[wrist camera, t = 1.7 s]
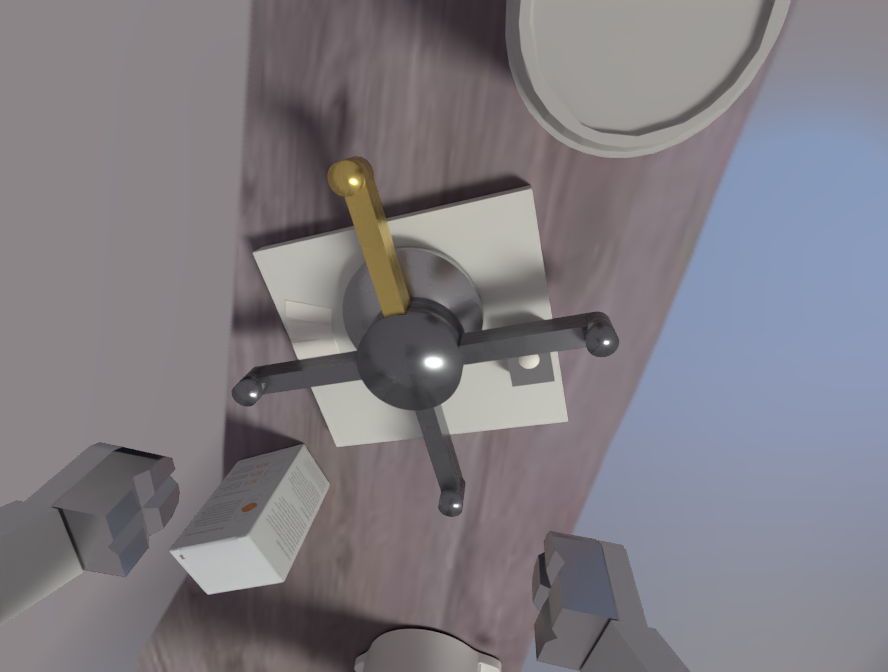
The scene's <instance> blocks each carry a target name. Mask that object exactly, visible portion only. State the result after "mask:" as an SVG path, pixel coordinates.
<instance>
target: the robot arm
mask: <svg viewBox="0 0 888 672" xmlns="http://www.w3.org/2000/svg"><path fill="white" fill-rule="evenodd" d="M174 470H175V467H174V463H173V459H172V458H169V457H165V456H161V455H157V454H152V453H147V452H143V451H139V450H134V449H130V448H125V447H121V446H115V445H111V444H106V443H102V442H99V443H96V444H94V445H91V446H89V447H88V448H87V449H86V450H85V451H83V452H82V453H81V454H80V455H79V456H78V457H76V458H75V459H74V460H73V461H72V462H71V463H69V464H68V465H67V466H66V467H65V468H64V469H62V470H61V471H60V472H59V473H58V474H57V475H55V476H54V477H53V478H52V479H51V480H49V481H48V482H47V483H46V484H45V485H44V486H43V487H41V488H40V489H39V490H38V491H37V492H35V493H34V494H33V495H32V496H31V497H29V498H28V499H27V500H26V501H25V502H22V501H15V502H12V503H10V504H7V505H5V506H3V507H0V626H1V625H3V624H4V623H6V622H7V621H9V620H11V619H12V618H14V617H15V616H17V615H18V614H20V613H21V612H23V611H25V610H26V609H28V608H29V607H31V606H32V605H34V604H35V603H37V602H38V601H40V600H42V599H43V598H45V597H46V596H48V595H49V594H51V593H52V592H54V591H56V590H57V589H59V588H60V587H62V586H63V585H65V584H66V583H68V582H70V581H71V580H73V579H74V578H76V577H77V576H79V575H80V574H82V573H83V570H87V571H93V572H99V573H104V574H110V575H116V576H122V577H126V576H127V575H128V573H129V572H130V571H131V569H132V568H133V567H134V566H135V564H136V563H137V562H138V560H139V559H140V558H141V557H142V555H143V554H144V553H145V552H146V550H147V549H148V548H149V536H151V535H152V534H154V533H156V532H158V531H160V530H161V529H163V528H164V527H165V526H166V524H167V523H168V522H169V520H170V519H171V518H172V516H173V514H174V512H175V509H176V507H177V505H178V502H179V494H180V492H179V486H178V483H177V482H176V481H175V480H174V479H173V478H172V477H171V476H170V474H172V472H173V471H174ZM544 551H545V552H543V553H542V554H540V555H538V558H537V560H536V563H535V567H534V573H533V579H532V596H533V604H534V605H535V607H536V608H537V610H538V611H539V615H538V618H537V620H536V622H535V625H534V629H535V643H536V657H537V661H539V662H544V663H548V664H552V665H556V666H560V667H565V668H569V669H573V670H578V671H580V672H690V671H689V669H688V668H687V667H686V666H685V664H684V663H683V662H682V661H681V659H680V658H679V657H678V656H677V655H676V653H675V652H674V651H673V650H672V649H671V647H670V646H669V645H668V644H667V642H666V641H665V640H664V639H663V637H662V636H661V635H660V634H659V632H658V631H657V630H656V629H654V628H650V627H648V626H647V622H646V619H645V615H644V612H643V608H642V605H641V601H640V598H639V594H638V590H637V587H636V583H635V580H634V576H633V573H632V569H631V566H630V562H629V559H628V555H627V551H626V549H625V548H624V546H623V545H620V544H615V543H610V542H605V541H599V540H596V539H592V538H585V537H581V536H575V535H570V534H564V533H559V532H553V531H550V532H549V533H548V534H547V535H546V538H545V540H544ZM354 669H355V671H356V672H501V662H500V661H499V660H497V659H495V658H493V657H490V656H488V655H485V654H482V653H479V652H477V651H475V650H473V649H472V648H470V647H469V646H467V645H466V644H464V643H462V642H461V641H459V640H457V639H455V638H453V637H450V636H448V635H445V634H442V633H438V632H434V631H429V630H422V629H400V630H394V631H390V632H387V633H385V634H383V635H381V636H379V637H378V638H377V639H375V640H374V642H373V643H372V644H371V646H370V648H369V650H368V651H367V652H366V653H364V654H362V655H360V656H358V657H357V658H356V661H355V666H354Z"/></svg>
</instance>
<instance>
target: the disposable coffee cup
mask: <svg viewBox="0 0 888 672" xmlns="http://www.w3.org/2000/svg"><path fill="white" fill-rule="evenodd" d="M790 1H791V0H507V2H506V29H505V39H506V46H507V54H508V61H509V67H510V70H511V73H512V77H513V80H514V82H515V85H516V88H517V90H518V92H519V94H520V96H521V98H522V100H523V101H524V103H525V105H526V107H527V109H528V110H529V112H530V113H531V114H532V115H533V117H534V118H535V119H536V120H537V122H538V123H539V124H540V125H541V126H542V127H543V128H544V129H545V130H547V131H548V132H549V133H550V134H551V135H552V136H554V137H555V138H556V139H557V140H559V141H561V142H562V143H564V144H566V145H567V146H569V147H571V148H574V149H576V150H579V151H581V152H584V153H587V154H592V155H596V156H601V157H605V158H630V157H636V156H641V155H647V154H652V153H656V152H658V151H661V150H663V149H666V148H668V147H671V146H673V145H676V144H678V143H681V142H683V141H685V140H686V139H688V138H689V137H691V136H693V135H694V134H696V133H697V132H699V131H701V130H702V129H704V128H706V127H707V126H708V125H709V124H711V123H712V122H713V121H714V120H715V119H716V118H718V117H719V116H720V115H721V114H722V113H723V112H725V111H726V110H727V109H728V108H729V107H730V106H731V105H732V103H733V102H734V101H735V100H736V99H737V98H738V97H739V96H740V94H741V93H742V92H743V91H744V90H745V89H746V88H747V87H748V86H749V84H750V82H751V81H752V79H753V78H754V76H755V75H756V73H757V72H758V70H759V68H760V67H761V65H762V64H763V62H764V61H765V59H766V57H767V55H768V53H769V51H770V50H771V48H772V46H773V45H774V43H775V41H776V39H777V37H778V34H779V32H780V30H781V27H782V25H783V23H784V20H785V18H786V15H787V11H788V8H789V4H790Z"/></svg>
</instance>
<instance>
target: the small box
mask: <svg viewBox="0 0 888 672" xmlns="http://www.w3.org/2000/svg"><path fill="white" fill-rule="evenodd" d="M329 486H330V483H329V482H328V480H327V479H326V477H325V476H324V474H323V473H322V471H321V470H320V468H319V467H318V465H317V464H316V462H315V460H314V459H313V457H312V456H311V454H310V453H309V451H308V449H307V448H306V446H305V445H304V444H300V445H297V446H293V447H289V448H285V449H281V450H278V451H274V452H270V453H266V454H262V455H259V456H255V457H251V458H247V459H243V460H240V461H238V462H237V463H236V464H235V466H234V467H233V468H232V470H231V471H230V472H229V473H228V475H227V476H226V477H225V478H224V480H223V481H222V482H221V484H220V485H219V486H218V488H217V489H216V490H215V491H214V493H213V494H212V495H211V496H210V498H209V499H208V500H207V502H206V503H205V504H204V506H203V507H202V508H201V509H200V511H199V512H198V513H197V515H196V516H195V517H194V519H193V520H192V521H191V522H190V524H189V525H188V526H187V528H186V529H185V530H184V531H183V533H182V534H181V535H180V537H179V538H178V539H177V540H176V542H175V543H174V544H173V545H172V547H171V548H170V549H169V551H170V553H171V554H172V555H173V556H174V558H176V560H177V561H178V562H179V563H180V564H181V566H182V567H183V568H184V569H185V570H186V571H187V572H188V573H189V575H190V576H191V577H192V578H193V579H194V580H195V581H196V582H197V583H198V585H199V586H200V587H201V588H202V589H203V590H204V591H205V592H206V593H207V594H208V595H209V594H215V593H221V592H227V591H233V590H239V589H245V588H251V587H258V586H264V585H270V584H276V583H282V582H284V581H285V579H286V577H287V575H288V573H289V570H290V568H291V566H292V564H293V562H294V560H295V558H296V556H297V554H298V551H299V549H300V547H301V545H302V543H303V541H304V539H305V537H306V535H307V533H308V530H309V528H310V526H311V524H312V522H313V520H314V518H315V516H316V514H317V512H318V510H319V507H320V505H321V503H322V501H323V499H324V497H325V495H326V493H327V491H328V489H329Z"/></svg>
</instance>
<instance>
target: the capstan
mask: <svg viewBox="0 0 888 672" xmlns="http://www.w3.org/2000/svg"><path fill="white" fill-rule="evenodd" d="M327 179H328V183H329V186H330V188H331V189H332V190H333V191H334V192H335V193H336V194H338V195H340V196H343V197H345V200H346V203H347V206H348V209H349V212H350V215H351V218H352V221H353V224H354V227H355V230H356V233H357V236H358V239H359V242H360V245H361V248H362V251H363V254H364V257H365V260H366V262H365V263H364V264H363V265H362V266H361V267H360V268H359V269H358V270H357V272H356V273H355V274H354V275H353V277H352V278H351V280H350V281H349V283H348V286H347V288H346V290H345V294H344V298H343V306H342V311H343V320H344V325H345V328H346V332H347V334H348V336H349V338H350V340H351V342H352V343H353V345H354V347H355V348H356V349H357V351H351V352H345V353H339V354H333V355H326V356H320V357H314V358H308V359H302V360H296V361H289V362H283V363H277V364H271V365H265V366H260V367H259V366H258V367H254V368H253V369H252V370H251V371H250V372H249V373H248V374H247V375H246V376H245V377H244V378H243V379H242V380H241V381H240V382H239V383H238V384H237V385H236V386H235V387H234V388H233V389H232V396H233V398H234V400H235V401H236V402H237V403H239V404H240V405H242V406H252V405H254V404H255V403H256V402H257V401H258V399H259V398H260V397H261V396H262V395H263V394H268V393H275V392H282V391H289V390H296V389H302V388H309V387H316V386H323V385H330V384H337V383H344V382H350V381H357V380H362V381H363V383H364V384H365V386H366V387H367V388H368V389H369V391H370V392H371V393H372V394H373V395H375V396H376V397H377V398H378V399H380V400H381V401H383V402H385V403H387V404H389V405H391V406H393V407H396V408H400V409H404V410H413V411H415V413H416V416H417V419H418V422H419V425H420V428H421V431H422V434H423V437H424V440H425V443H426V446H427V449H428V452H429V455H430V459H431V462H432V465H433V468H434V471H435V474H436V477H437V480H438V483H439V486H440V489H441V495H440V500H439V506H438V508H439V510H440V512H441V513H442V514H444V515H446V516H449V517H455V516H458V515H459V514H461V512H462V508H463V500H464V492H465V481H464V479H463V477H462V473H461V470H460V467H459V463H458V460H457V456H456V453H455V450H454V446H453V443H452V440H451V436H450V433H449V429H448V426H447V423H446V419H445V416H444V413H443V409H442V406H441V404H442V403H444V402H445V401H447V400H448V399H449V398H450V397H451V396H452V395H453V394H454V392H455V391H456V389H457V388H458V386H459V383H460V380H461V376H462V371H463V366H464V365H467V364H474V363H481V362H488V361H495V360H501V359H508V358H515V357H522V356H529V355H536V354H543V353H549V352H556V351H563V350H570V349H577V348H584V347H587V349H588V351H589V352H590V353H591V354H592V355H594V356H597V357H606V356H609V355H611V354H612V353H614V352H615V351H616V350H617V348H618V345H619V339H618V336H617V334H616V332H615V330H614V328H613V325H612V323H611V321H610V319H609V317H608V316H607V315H606V314H604V313H602V312H591V313H585V314H579V315H573V316H567V317H561V318H554V319H548V320H542V321H536V322H530V323H524V324H517V325H511V326H505V327H499V328H493V329H487V330H482V327H483V320H484V310H483V304H482V300H481V296H480V293H479V291H478V289H477V287H476V285H475V283H474V281H473V280H472V278H471V277H470V276H469V274H468V273H467V272H466V271H465V270H464V269H463V268H462V267H461V266H460V265H459V264H458V263H456V262H455V261H454V260H452V259H451V258H449V257H447V256H446V255H444V254H442V253H440V252H437V251H435V250H432V249H428V248H424V247H417V246H402V247H394V244H393V241H392V237H391V234H390V230H389V227H388V224H387V220H386V217H385V214H384V210H383V207H382V203H381V200H380V197H379V193H378V190H377V187H376V183H375V180H374V176H373V169H372V166H371V165H370V163H369V162H368V161H367V160H366V159H364V158H362V157H358V156H355V157H351V158H348V159H344V160H341V161H338V162H335V163H334V164H332V165H331V167H330V168H329V170H328V174H327Z"/></svg>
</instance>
